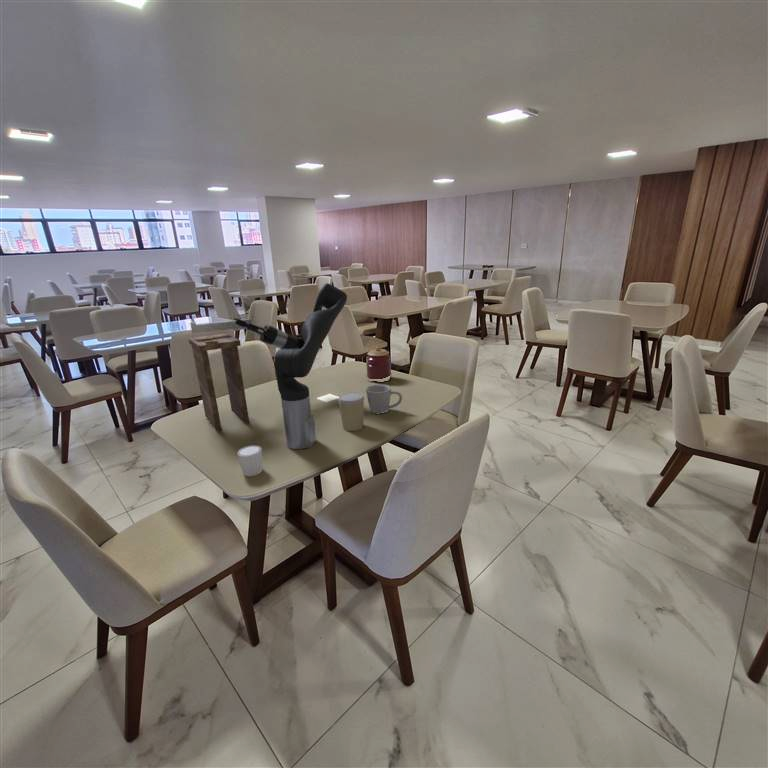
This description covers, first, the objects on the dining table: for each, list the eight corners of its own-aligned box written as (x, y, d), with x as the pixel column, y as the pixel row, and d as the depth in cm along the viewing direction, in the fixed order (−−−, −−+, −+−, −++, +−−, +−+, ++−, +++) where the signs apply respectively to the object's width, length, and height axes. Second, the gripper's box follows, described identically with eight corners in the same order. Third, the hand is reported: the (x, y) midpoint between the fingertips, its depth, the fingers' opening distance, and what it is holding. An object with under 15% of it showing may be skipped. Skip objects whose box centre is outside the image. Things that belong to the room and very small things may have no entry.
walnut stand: (238, 408, 165) (225, 331, 154) (252, 422, 149) (239, 337, 139) (203, 416, 157) (187, 335, 146) (215, 432, 141) (198, 343, 131)
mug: (370, 405, 162) (369, 383, 159) (404, 407, 159) (404, 384, 156) (364, 415, 152) (362, 391, 149) (400, 417, 149) (400, 393, 146)
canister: (396, 378, 198) (395, 345, 193) (379, 384, 190) (378, 350, 184) (379, 374, 207) (377, 342, 202) (361, 379, 198) (359, 347, 193)
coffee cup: (351, 419, 148) (349, 391, 144) (370, 424, 143) (368, 395, 139) (335, 428, 141) (332, 398, 137) (354, 434, 136) (352, 403, 132)
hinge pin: (249, 325, 157) (248, 316, 155) (252, 326, 153) (251, 316, 152) (192, 332, 144) (190, 322, 143) (194, 333, 141) (192, 323, 140)
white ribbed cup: (248, 480, 109) (244, 458, 107) (236, 472, 113) (232, 451, 111) (269, 470, 114) (266, 449, 112) (257, 463, 118) (253, 443, 116)
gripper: (276, 347, 156) (236, 331, 145) (265, 342, 167) (226, 327, 156) (283, 330, 156) (243, 313, 145) (271, 327, 167) (233, 310, 156)
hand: (235, 320), depth 151 cm, fingers closed on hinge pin, 3 cm apart
